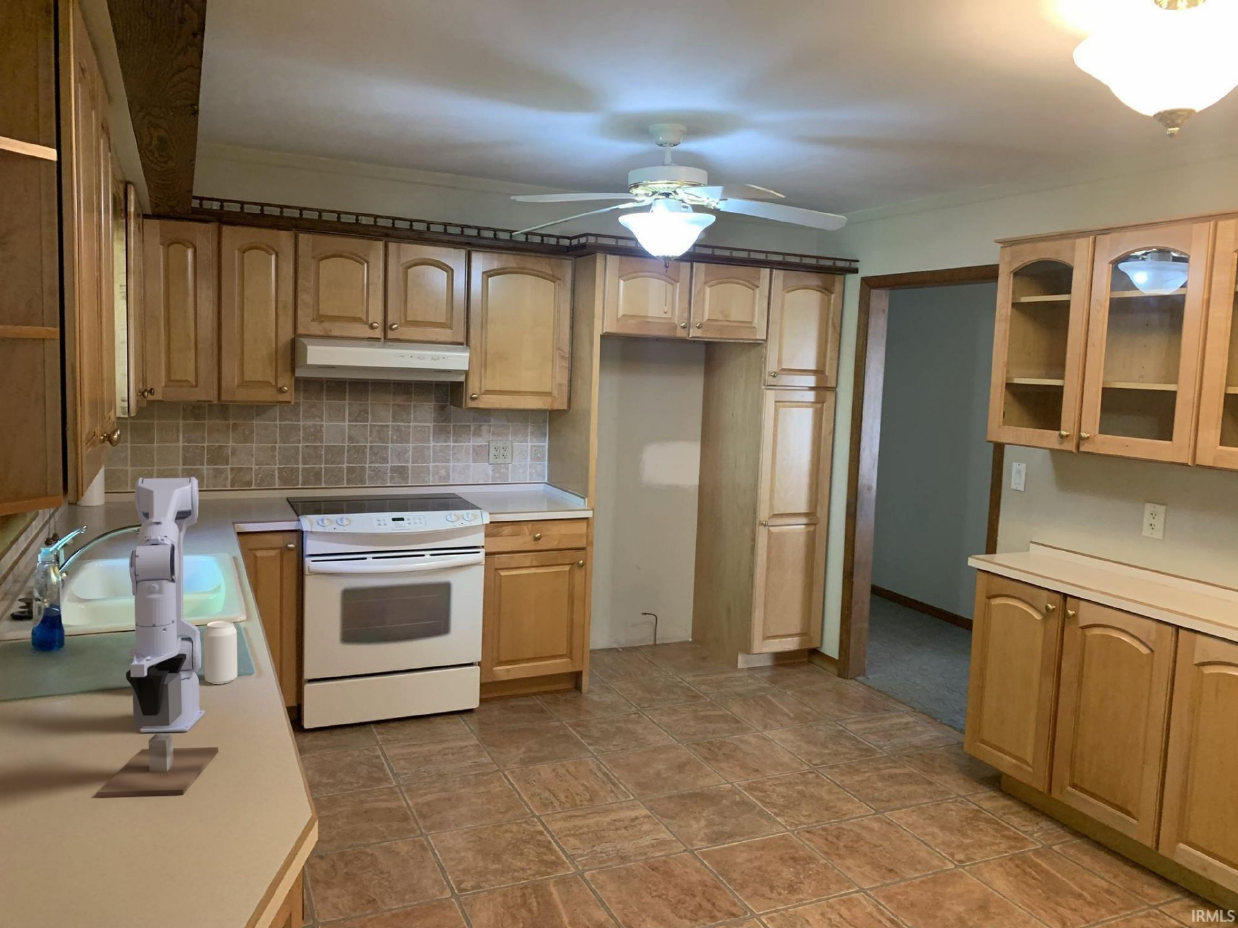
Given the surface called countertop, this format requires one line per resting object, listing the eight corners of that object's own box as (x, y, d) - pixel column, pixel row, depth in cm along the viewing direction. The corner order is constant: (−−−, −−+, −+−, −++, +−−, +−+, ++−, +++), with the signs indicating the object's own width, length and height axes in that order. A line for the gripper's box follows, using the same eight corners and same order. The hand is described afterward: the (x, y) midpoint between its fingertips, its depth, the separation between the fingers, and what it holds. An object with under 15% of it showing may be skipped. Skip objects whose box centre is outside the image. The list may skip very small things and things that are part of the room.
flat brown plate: (142, 753, 151) (141, 719, 150) (218, 751, 152) (217, 717, 152) (97, 797, 135) (96, 758, 134) (183, 794, 136) (182, 756, 136)
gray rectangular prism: (147, 714, 145) (146, 673, 145) (181, 713, 146) (180, 673, 145) (133, 726, 140) (132, 684, 139) (169, 725, 141) (168, 683, 140)
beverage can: (215, 675, 191) (214, 618, 190) (243, 677, 190) (242, 620, 189) (198, 685, 185) (196, 626, 184) (226, 686, 184) (225, 628, 183)
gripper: (147, 610, 148) (150, 692, 149) (107, 635, 134) (110, 725, 135) (193, 610, 149) (195, 692, 150) (158, 634, 135) (160, 724, 136)
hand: (158, 707), depth 143 cm, fingers closed on gray rectangular prism, 5 cm apart
